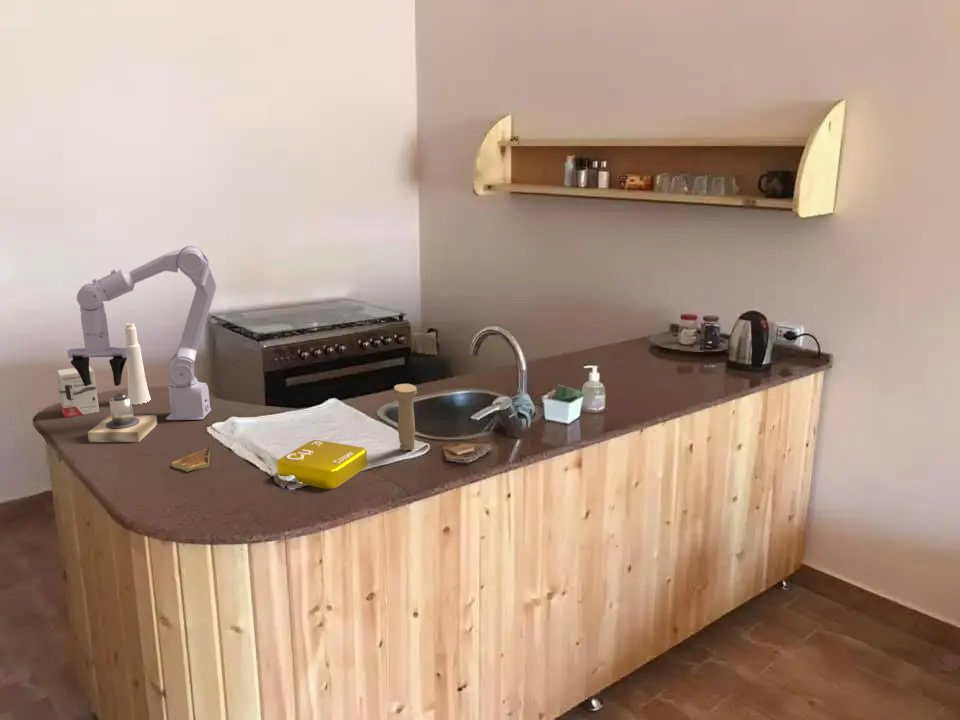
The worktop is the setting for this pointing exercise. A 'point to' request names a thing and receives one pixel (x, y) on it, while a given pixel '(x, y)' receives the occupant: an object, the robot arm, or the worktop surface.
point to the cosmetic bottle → (135, 368)
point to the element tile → (323, 463)
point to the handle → (406, 415)
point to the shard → (193, 461)
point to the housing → (121, 409)
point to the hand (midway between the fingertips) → (102, 384)
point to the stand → (122, 430)
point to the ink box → (77, 393)
